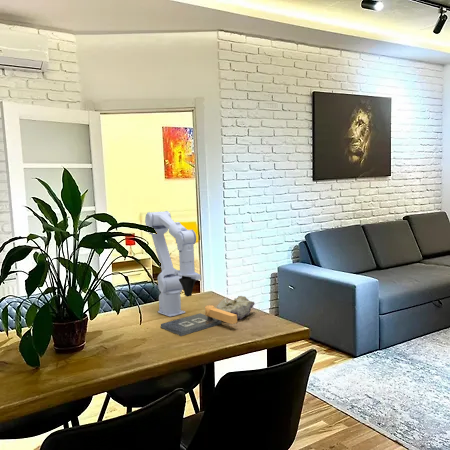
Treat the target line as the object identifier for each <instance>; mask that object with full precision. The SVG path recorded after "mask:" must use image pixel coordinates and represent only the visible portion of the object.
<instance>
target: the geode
mask: <svg viewBox="0 0 450 450" xmlns="http://www.w3.org/2000/svg"><path fill="white" fill-rule="evenodd" d="M255 305H256V304H255V301H252V300H249V298H247V297H246V296H243V295H238V296H237V297H235V298H234V299H230V300H228V301H227V298H224V299H222V300H221V301H220V302H219V303H218V304H216V308H217V309H220V310H223V311H226V312H230V313H233V314H236V315H237V320H239V321H240V320H242V319H243V318H244V317H246V316H249V315H250V314H251V311H252V308H254V306H255Z"/></svg>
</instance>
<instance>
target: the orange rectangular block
mask: <svg viewBox="0 0 450 450" xmlns="http://www.w3.org/2000/svg"><path fill="white" fill-rule="evenodd" d="M204 311H205V312H204V313H205V314H204V315H205V316H208V317H212V318H215V319H218V320H221V322H224V323H227V324H230V325H235V324H237V323H238V319H237V315H236V314H233V313H230V312H226V311H223V310H220V309H217V307H215V305H212V304H211V305H210V304H209V305H208V304H207V305H205V307H204Z"/></svg>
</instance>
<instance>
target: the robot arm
mask: <svg viewBox="0 0 450 450" xmlns="http://www.w3.org/2000/svg"><path fill="white" fill-rule="evenodd" d="M144 223H145V226H149V227H152V228H154V229H155V231H156V232H157V234H153V233H149V232H148V231H147V232H148V234H149V235H151V238H152V241H153V244H154V248H155V251H156V255H157V259H158V261H159V262H160V263H161V266H160V268H161V269H160V270H161V272H160V273H159V274H158V275H157V282H158V284H157V286H158V290H159V295H158V305H159V306H158V307H159V308H158V309H159V310H158V311H157V313H159V314H161V315H165V316H167V317H169V318H171V317H175V316H179V315H182V314H185V313H186V311H185V310H182V301H181V293H182V292H184V296H185V297H192V294H193V290H194V287H195V284H196V282H197V281H201V280H202V275H201V274H200V273H198V272H196V271H195V267H196V266H195V253H194V252H195V249H194V248H195V247H194V245H195V244H196V242H197V233H196V232H195V231H194V230H193V229H187V228H186V227H185V226H184V225H182V224H181V222H180V221H174V219H172V215H171V212H170V211H168V210H165V211H153V212H152V211H151V212H150V211H148V212H147V213H146V214H145V219H144ZM168 232H169V234H170V235H171V236H172V237H173V238H174V239H175V244H176V246H177V248H176V249H177V251H178V255H179V256H178V257H179V269H176V268H175V267H174V265H173V261H172V258H171V255H170V252H169V248H168V245H167V241H166V237H165V234H166V233H168ZM160 263H159V264H160Z"/></svg>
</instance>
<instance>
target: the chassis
mask: <svg viewBox="0 0 450 450" xmlns="http://www.w3.org/2000/svg"><path fill="white" fill-rule="evenodd" d="M221 324H222V321H221V320H218V319H215V318H212V317H208V316H205V314H204V313H201V312H200V313H196V314H193V315H188V316H185V317H181V318H179V319H173V320H170V321H166V322H162V323H160V328H161V329H163V330H165V331H167V332H171V334H172V333H173V334H175V335H177V336H180V337H182V336H187V335H189V334H192V333H195V332H199V331H203V330H206V329H210V328H213V327H216V326H219V325H221Z"/></svg>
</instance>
